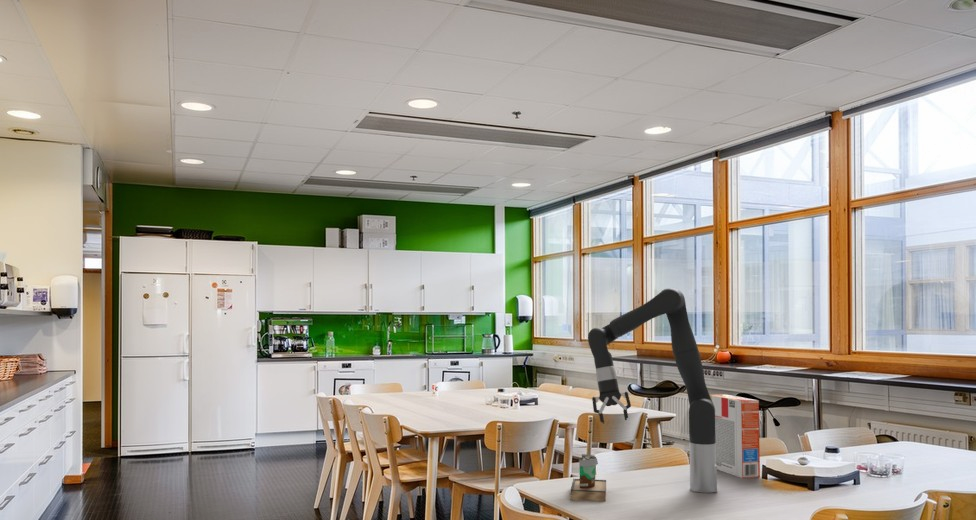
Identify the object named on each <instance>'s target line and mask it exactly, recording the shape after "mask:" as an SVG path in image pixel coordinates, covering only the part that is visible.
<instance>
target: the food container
mask: <svg viewBox="0 0 976 520" xmlns="http://www.w3.org/2000/svg"><path fill="white" fill-rule="evenodd" d="M578 464H579V465H578V466H579V479H580V488H592V487H594V486H595V480H596V471H597V465H598V464H599V462H598V458H597V456H596V455H592V454H586V453H585V454H584V453H582V454H581V458H580V459H579V463H578Z"/></svg>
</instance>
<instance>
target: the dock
mask: <svg viewBox="0 0 976 520" xmlns="http://www.w3.org/2000/svg"><path fill="white" fill-rule="evenodd" d="M606 498H607V479H595V486H594V487H592V488H580V478H573V479H572V482H571V486H570V501H589V502H591V501H593V502H606V501H607V499H606Z"/></svg>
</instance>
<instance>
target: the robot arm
mask: <svg viewBox="0 0 976 520" xmlns="http://www.w3.org/2000/svg"><path fill="white" fill-rule="evenodd" d="M662 315H666V318H667V320H668V324H669V327H670V341H671V349H672V354H673V358H674V361H675V364H676V365H675V366H676V369H677V370H678V373H679V375H680V377H681V378H682V380H683V381H682V382H683V384H684V385H685V389H686V393H687V398H688V405H689V408H688V436H689V489H690V491H692V492H695V493H703V494H704V493H706V494H708V493H709V494H710V493H718V469H717V465H716V435H715V407H714V404H713V402H712V400H711V397H710V395H711V394H710V393H709V390H708V387H707V384H706V380H705V373H704V368H703V364H702V363H703V362H702V358H701V355H700V351H699V347H698V344H697V342H696V338H695V335H694V333H693V330H692V329H693V328H692V326H691V323H690V321H689V316H688V310H687V305H686V300H685V296H684V294H683V292H682V291H681V290H679V289H677V288H675V287H667V288H664V289H663V290H661V291H660V292H659V293H657V294H656V295H655V296H654V297H652V298H651V299H650V300H649V301H648V300H647V302H645V303H644V304H642V305H640V306H638V307H636V308H634V309H632V310H629V311H628V312H625V313H624V314H622V315H619V316H617V317H616V318H614V319H612V320H611V321H610V322H609V324H607V325H605V326H602V327H595V328H591V329H590V330H589V332H588V335H587V342H588V346H589V349H590V351H591V354H592V356H593V360H594V361H593V362H594V366H595V376H596V381H597V387H598V391H599V396H593V397H592V398H591V399H592V400H591V401H592V408H593V413H595V414H598V416H599V421H600V423H601V424H605V418H604V413H603V411H604V410H605V407H611V406H616V405H619V406H620V407H621V408H622V409H623V410H622V411H623V417H624V421H627V420H628V418H629V415H628V409H630V408H631V407H632V405H631V400H630V395H629V392H628V391H624V392H620V388H619V383H618V378H617V372H616V370H615V369H616V368H615V367H614V366H615V365H614V361H613V356H612V353H611V352H610V351H609V349H608V345H610V344H612V343H613V342H615V341H616V340H617V339H619V338H620V337H623V336H625V335H627V334H628V333H630V332H632V331H635V330H636V329H638V328H639V327H641V326H643V324H646V323H647V322H649V321H651V320H652V319H655V318H657V317H660V316H662ZM622 397H623V398H624V399H625V401H626V404H627V405H624V404H623V403H622V402H621V401H620V399H621V398H622ZM599 400H600V402H601V403H602V405H601V406H600V408H599V409H598V407H597V403H598V402H599Z"/></svg>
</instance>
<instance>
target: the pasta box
mask: <svg viewBox="0 0 976 520" xmlns="http://www.w3.org/2000/svg"><path fill="white" fill-rule="evenodd" d="M709 395H710V397H711V400H712V402H713V404H714V407H715V435H716V465H717V471H721V472H724V473H727V474H730V475H733V476H735V477H738V478H741V479H749V478H760V477H761V463H760V461H761V460H760V459H761V457H760V456H761V455H760V452H761V450H760V407H759V405H760V400H758V399H752V398H747V397H742V396H737V395H730V394H721V393H719V394H709Z"/></svg>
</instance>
